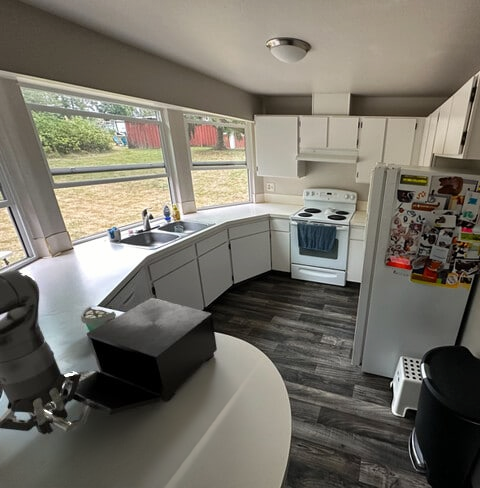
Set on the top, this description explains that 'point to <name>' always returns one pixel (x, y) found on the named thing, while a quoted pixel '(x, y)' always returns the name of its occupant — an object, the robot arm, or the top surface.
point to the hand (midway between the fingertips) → (55, 426)
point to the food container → (95, 318)
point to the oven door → (102, 398)
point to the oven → (154, 345)
